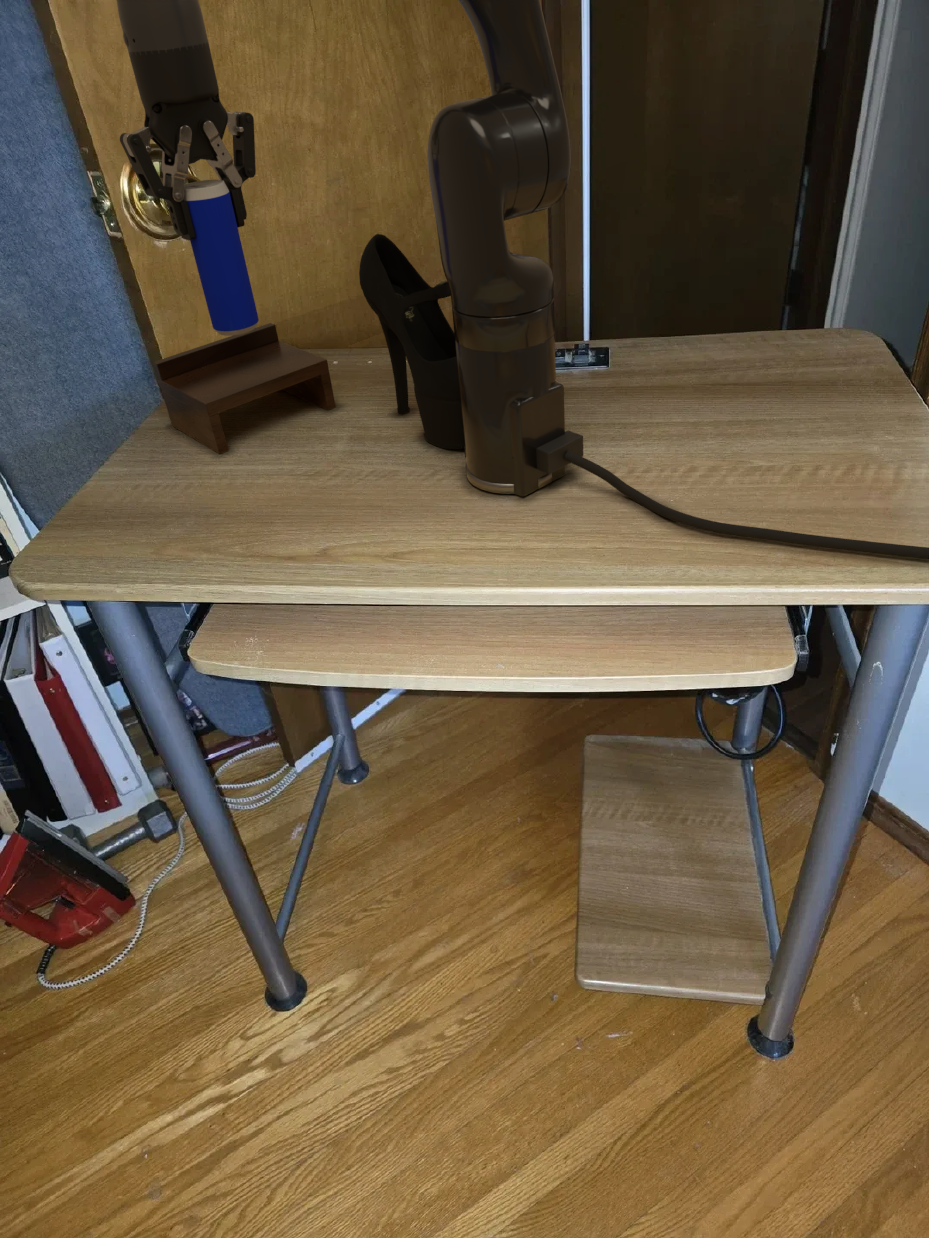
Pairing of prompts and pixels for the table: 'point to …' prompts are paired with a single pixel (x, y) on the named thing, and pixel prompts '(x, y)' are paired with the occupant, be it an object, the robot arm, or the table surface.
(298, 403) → the table surface
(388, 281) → the high-heeled shoe
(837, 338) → the table surface
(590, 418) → the table surface
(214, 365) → the shelf
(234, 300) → the beverage can
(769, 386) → the table surface
